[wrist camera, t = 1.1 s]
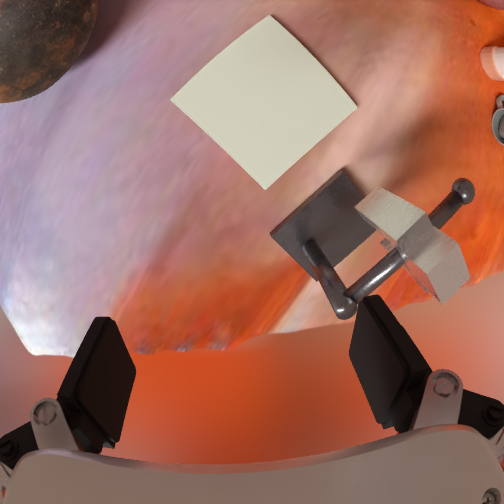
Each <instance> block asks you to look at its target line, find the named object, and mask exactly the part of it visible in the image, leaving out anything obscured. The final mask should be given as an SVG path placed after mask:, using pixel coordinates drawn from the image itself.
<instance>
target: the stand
mask: <svg viewBox="0 0 504 504" xmlns="http://www.w3.org/2000/svg"><path fill="white" fill-rule="evenodd" d="M474 196H475V188H474V186H473V184H472V183H471V181H469V180H468V179H466V178H459V179H457V180H456V181H455V182H454V183H453V185H452V191H451V192H450V193H449V194H448V195H447V197H446V198H445V199H444V200H443V201H442V202H441V203H440V204H439V205H438V206H437V207H436V208H435V209H434V210H433V211H432V212H431V213H430V214H429V215H428V218H429V219H430V221H431V223H432V225H433V226H434V227H436V228H437V229H439V230H440V229H441V228H442V226H443V225H444V224H445V223H446V222H447V221H448V220H449V219H450V218H451V217H452V216H453V215H454V214H455V213H456V212H457V211H458V210H459V208H460V207H461V206H462V205H466V204H469V203H470V202H472V200H473V199H474ZM363 199H364V198H363V197H362V195H361V194H360V192H359V191H358V190H357V188H356V187H355V186H354V184H353V183H352V182H351V181H350V179H349V178H348V177H347V175H346V174H345V173H344V172H343V171H341V170H339V171H338V172H337V173H336V174H335V175H334V176H333V177H331V178H330V179H329V180H328V181H327V182H326V183H325V184H324V185H323V186H321V187H320V188H319V189H318V190H317V191H316V192H315V193H314V194H313V195H311V196H310V197H309V198H308V199H307V200H306V201H305V202H304V203H303V204H301V205H300V206H299V207H298V208H297V209H296V210H295V211H294V212H293V213H292V214H290V215H289V216H288V217H287V218H286V219H285V220H284V221H283V222H282V223H280V224H279V225H278V226H277V227H276V228H275V229H274V230H273V231H272V232H270V235H271V237H272V238H273V239H274V240H275V241H276V242H277V243H278V244H279V245H280V246H281V247H282V248H283V249H284V250H285V251H286V252H287V253H288V254H289V255H290V256H291V257H292V258H293V259H294V260H295V261H296V262H297V263H298V264H299V265H300V266H301V267H302V268H303V269H305V270H306V271H307V272H308V273H309V274H310V275H311V276H312V277H313V278H314V279H315V280H316V281H318V280H319V282H320V284H321V286H322V288H323V290H324V292H325V294H326V296H327V298H328V300H329V302H330V304H331V306H332V308H333V310H334V312H335V314H336V316H337V317H338V318H339V319H342V320H345V319H349V318H351V317H352V316H353V315H354V314H355V313H356V311H357V304H358V303H359V302H360V301H362V300H363V298H364V297H365V296H368V295H369V294H370V293H372V292H373V291H374V290H375V289H376V288H377V287H379V286H380V285H381V284H382V283H383V282H384V281H385V280H387V279H388V278H389V277H390V276H391V275H392V274H393V273H395V272H396V271H397V270H398V269H399V268H400V267H401V266H402V265H403V264H404V263H405V261H404V259H403V258H402V256H401V255H400V253H399V252H398V250H397V248H396V247H395V248H394V249H392V250H391V251H390V252H389V253H388V254H387V255H386V256H385V257H384V258H383V259H381V260H380V261H379V262H378V263H377V264H376V265H375V266H374V267H372V268H371V269H370V270H369V271H368V272H367V273H365V274H364V275H363V276H362V277H361V278H360V279H358V280H357V281H356V282H355V283H354V284H353V285H351V286H350V287H349V288H348V289H347V288H346V287H345V285H344V284H343V282H342V281H341V279H340V277H339V276H338V274H337V273H336V271H335V270H334V267H335V266H336V265H337V264H338V263H340V262H341V261H342V260H343V259H344V258H345V257H347V256H348V255H349V254H350V253H351V252H352V251H353V250H355V249H356V248H357V247H358V246H359V245H360V244H361V243H362V242H364V241H365V240H366V239H367V238H368V237H369V236H370V235H371V234H372V233H374V232H375V231H376V229H375V228H373V227H372V226H371V225H370V224H369V223H367V222H366V221H365V220H364V219H363V218H362V217H361V215H360V214H359V213H358V211H357V210H356V209H355V208H354V207H355V206H356V205H357V204H358V203H359V202H361V201H362V200H363Z"/></svg>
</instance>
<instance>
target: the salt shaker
mask: <svg viewBox="0 0 504 504" xmlns="http://www.w3.org/2000/svg"><path fill="white" fill-rule="evenodd" d="M480 59H481V63H482V66H483V69H484V71H485V72H486V74H487V75H488V76H489V78H491V79H492V80H496V81H504V47H502V48H500V47H498V46H490V47H483V48H482V49H481V52H480Z"/></svg>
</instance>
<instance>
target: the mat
mask: <svg viewBox="0 0 504 504" xmlns="http://www.w3.org/2000/svg"><path fill="white" fill-rule="evenodd" d="M170 100H171V101H172V102H173V103H174V104H175V105H176V106H177V107H179V108H180V109H181V110H182V111H183V112H184V113H185V114H186V115H187V116H189V117H190V118H191V119H192V120H193V121H194V122H195V123H196V124H197V125H198V126H199V127H200V128H202V129H203V130H204V131H205V132H206V133H207V134H208V135H209V136H210V137H211V138H212V139H213V140H214V141H215V142H216V143H218V144H219V145H220V146H221V147H222V148H223V149H224V150H225V151H226V152H227V153H228V154H229V155H230V156H231V157H232V158H233V159H234V160H235V161H236V162H237V163H238V164H239V165H240V166H241V167H242V168H243V169H244V170H245V171H246V172H247V173H248V174H249V175H250V176H252V177H253V178H254V179H255V180H256V181H257V182H258V183H259V184H260V186H261V187H262V188H263V189H264V190H266V189H267V188H268V187H269V186H270V185H271V184H272V183H273V182H275V181H276V180H277V179H278V178H279V177H280V176H281V175H282V174H283V173H284V172H285V171H287V170H288V169H289V168H290V167H291V166H292V165H293V164H294V163H295V162H296V161H298V160H299V159H300V158H301V157H302V156H303V155H304V154H305V153H307V152H308V151H309V150H310V149H311V148H312V147H313V146H314V145H315V144H317V143H318V142H319V141H320V140H321V139H322V138H323V137H325V136H326V135H327V134H328V133H329V132H330V131H331V130H333V129H334V128H335V127H336V126H337V125H338V124H339V123H341V122H342V121H343V120H344V119H345V118H346V117H348V116H349V115H350V114H351V113H352V112H353V111H355V110H356V109H357V108H358V107H357V106H356V105H355V103H354V102H353V101H352V100H351V98H350V97H349V96H348V95H347V93H346V92H345V91H344V90H343V89H342V87H341V86H340V85H339V84H338V83H337V82H336V80H335V79H334V78H333V77H332V76H331V75H330V74H329V73H328V71H327V70H326V69H325V68H324V67H323V66H322V65H321V64H320V63H319V62H318V61H317V60H316V58H315V57H314V56H313V55H312V54H311V53H310V52H309V51H308V50H307V49H306V48H305V47H304V46H303V45H302V44H301V43H300V42H299V41H298V40H297V39H296V38H295V37H293V36H292V35H291V34H290V33H289V32H288V31H287V30H286V29H285V28H284V27H283V26H282V25H280V24H279V23H278V22H277V21H276V20H275V19H274V18H273V17H271V16H270V15H268V16H267V17H265V18H264V19H263V20H261V21H260V22H258V23H257V24H256V25H254V26H253V27H252V28H250V29H249V30H248V31H246V32H245V33H244V34H243V35H241V36H240V37H239V38H237V39H236V40H235V41H234V42H232V43H231V44H230V45H229V46H228V47H226V48H225V49H224V50H223V51H222V52H220V53H219V54H218V55H217V56H216V57H215V58H213V59H212V60H211V61H210V62H209V63H208V64H207V65H206V66H204V67H203V68H202V69H201V70H200V71H199V72H198V73H197V74H196V75H195V76H194V77H193V78H192V79H191V80H189V81H188V82H187V83H186V84H185V85H184V86H183V87H182V88H181V89H180V90H179V91H178V92H177V93H176V94H175V95H174V96H173V97H172V98H171V99H170Z"/></svg>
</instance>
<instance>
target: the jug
mask: <svg viewBox="0 0 504 504" xmlns="http://www.w3.org/2000/svg"><path fill="white" fill-rule="evenodd" d="M97 13H98V0H0V103H9V102H15V101H20V100H24V99H27V98H30V97H32V96H35V95H37V94H39V93H41V92H43V91H45V90H46V89H48V88H49V87H51V86H52V85H53V84H54V83H55V82H57V81H58V80H59V79H60V78H61V77H62V76H63V75H64V74H65V73H66V72H67V71H68V70H69V68H70V67H71V66H72V65H73V64H74V62H75V61H76V60H77V59H78V57H79V56H80V54H81V53H82V51H83V50H84V48H85V47H86V45H87V43H88V41H89V38H90V36H91V34H92V31H93V29H94V26H95V23H96V18H97Z"/></svg>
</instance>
